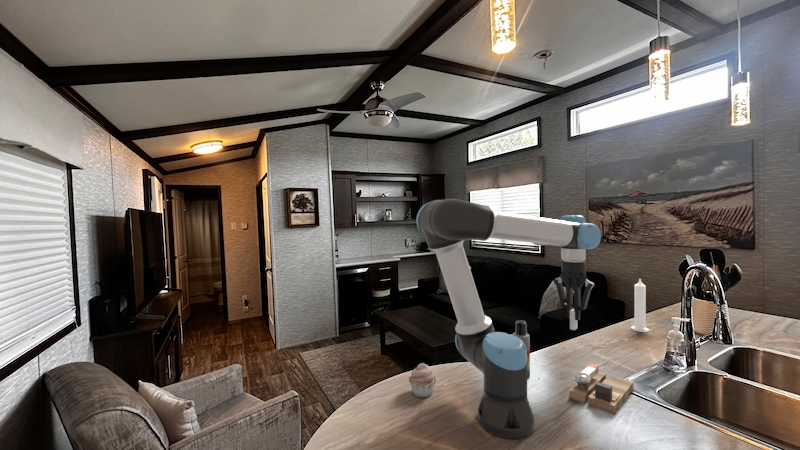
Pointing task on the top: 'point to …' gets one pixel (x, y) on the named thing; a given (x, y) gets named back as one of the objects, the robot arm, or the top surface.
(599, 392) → the door boards
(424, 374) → the cupcake
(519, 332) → the lotion bottle
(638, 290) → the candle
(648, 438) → the top surface
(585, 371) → the latch arm
